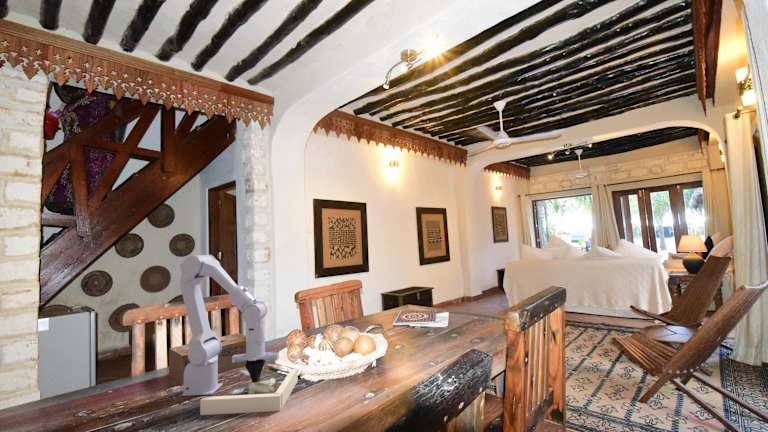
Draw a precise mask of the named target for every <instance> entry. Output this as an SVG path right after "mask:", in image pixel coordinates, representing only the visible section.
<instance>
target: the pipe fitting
mask: <svg viewBox="0 0 768 432" xmlns="http://www.w3.org/2000/svg"><path fill="white" fill-rule="evenodd" d="M246 387H247V389H246V390H247V395H251V394H271V393H276V391H277V390H276V387H277V385H276V379H275V377H272V378H269V379H265V380H259V382H255V383H253V382H252V381H251V382H249V383H247V385H246Z"/></svg>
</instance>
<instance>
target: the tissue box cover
mask: <svg viewBox="0 0 768 432" xmlns="http://www.w3.org/2000/svg"><path fill="white" fill-rule="evenodd" d="M217 338H218V339H219V340H220V342H221V344H222V350H221V352H220V354H219V355H218V375H222V374H224V373H227V372H230V371H234V370H238V369H241V368H244V367H245V364H246V361H244V362H235V363H232V356H234V355H238V354H246V334H241V333H233V334H228V335H224V336H220V337H217ZM188 352H189V347H188V344H183V345H178V346H174V347H170V348H169V349H168V376H169V377H170V378H171V379H173V380H174V381H176V382H177V383H179V384H180V385H182V386H184V370H185V368H186V366H187V365H188V364H189V363H191V362H190V361H189V359H188Z"/></svg>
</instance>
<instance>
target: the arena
mask: <svg viewBox="0 0 768 432" xmlns="http://www.w3.org/2000/svg"><path fill="white" fill-rule="evenodd" d="M298 379H299V377H298V368H292V369H290V371H289V372H288V373H287V375H286V376H285V378H284V379H283V381H282V382H281V384H280V385H279V387H278V388H277V390H276V391H275V392H274V393H271V394H251V395H248V394H238V395H236V394H234V395H216V396H203V397H202V398H201V399H200V400H199V401H200V402H199V403H200V404H199V405H200V410H199V411H200V416H206V415H208V416H210V415H229V414H244V413H245V414H248V413H262V412H263V413H264V412H267V413H268V412H281V410H282V409H283V407H284V406H285V404H286V402H287V400H288V398H289V396H290V395H291V393H292V391H293V390H294V388H295V387H296V385H297V383H298V382H299V380H298Z"/></svg>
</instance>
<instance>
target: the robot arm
mask: <svg viewBox="0 0 768 432" xmlns="http://www.w3.org/2000/svg"><path fill="white" fill-rule="evenodd" d="M179 267H180V271H181V274H180V281H179V286H180V289H181V290H180V292H181V294H182V295H181V296H182V299H183V302H184V307H185V311H186V315H187V319H188V323H189V328H190V332H191V338H190V340H189V341H188V347H189V352H188V359H189V361H190V362H191V363H189V364H188V365H187V366H186V368H185V370H184V385H183V391H182V394H181V396H182V397H188V396H204V395H205V396H206V395H210V396H211V395H213V394H214V393H215V392H217V390H219V389H220V388H221V387H222V386H223V385H224V384H223V382H219V374H218V355H219V354H220V352H221V350H222V344H221V342H220V340H219V339H218V338H219V337H218V336H217V333H216V331H214V330H212V329H211V327H210V321H209V318H208V314H207V313H208V312H207V310H206V306H205V301H204V298H203V293H202V289H201V286H200V285H201V283H202V282H203V280H204V279H205V277H208V278H212V279H213V280H214V281H215V283H217V284H218V285H220V286H221V287H222V288H223V290H225V291H226V292H227V293H228V300H230V302H231V303H232V304H233V305H234V306H235V307H236V308H237V309H238V310H239V311H240V312H241V313H242V314H241V316H242V317H241V318H242V319H243V322H245V336H246V354H238V355H234V356H232V363H235V362H244V361H246V364H245V366H244V367H245V369H246V370H247V372H248V374H249V377H250V379H251V383H252V382H253V383H255V382H259V381H260V379H261V375H262V372H263V368H264V365H265V364H266V362H267V361H279V359H280V353H279V352H270V351H266V343H265V342H266V340H265V339H266V337H265V336H266V333H265V329H266V328H265V324H266V323H265V317H266V316H267V314H268V307H267V305H266V304H265V302H264V301H261V300H260V301H259V299H258V298H257V297H256V298H255V296H253V295H252V293H251V292H250V291H249V288H248V287H247V286H243V285H238V284H237V283H236V282H235V281H234V280H233V279H232V277H231V276H230V275H229V274H228V273H227V271H226V270H225V269H224V268H223V267H222V266H221V263H220V261H218V260H217V259H216V258H215V256H213V254H209V253H207V254H201V255H200V254H199V255H197V254H196V255H195V254H192V255H188V256H186V257H185V258H184V260H183V261H181V264H180V265H179Z"/></svg>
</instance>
